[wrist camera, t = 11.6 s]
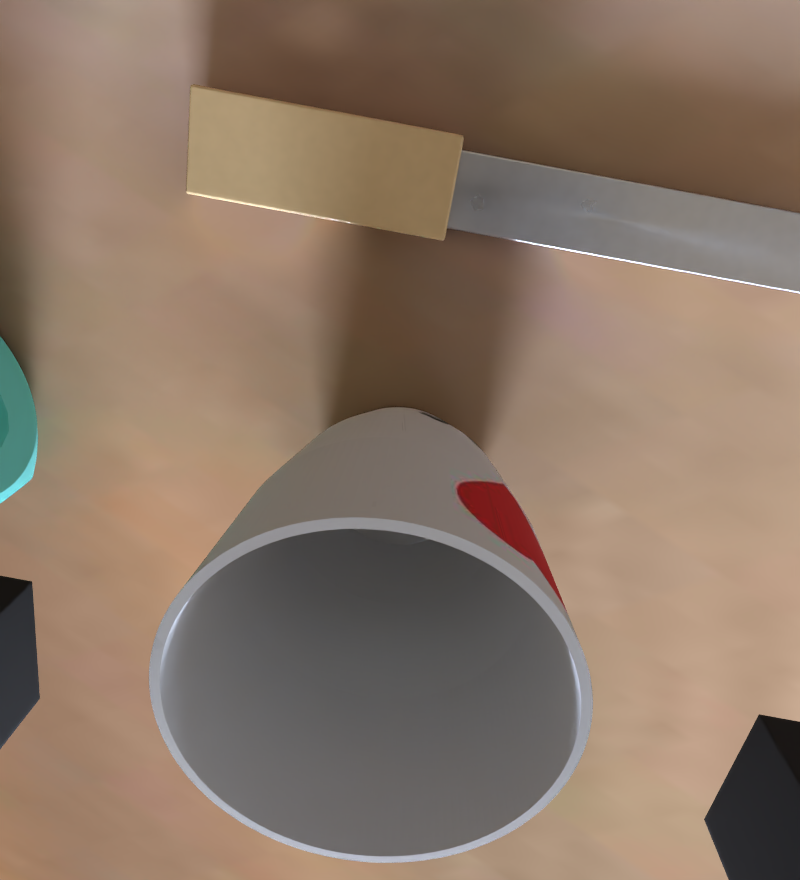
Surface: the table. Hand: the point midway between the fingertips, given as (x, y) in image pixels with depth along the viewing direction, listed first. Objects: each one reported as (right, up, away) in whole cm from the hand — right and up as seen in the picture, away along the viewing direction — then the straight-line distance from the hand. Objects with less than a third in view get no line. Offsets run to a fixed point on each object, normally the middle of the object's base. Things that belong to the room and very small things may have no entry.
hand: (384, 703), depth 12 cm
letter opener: (+4, +11, +6) cm, 13 cm away
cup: (0, +4, +9) cm, 10 cm away
